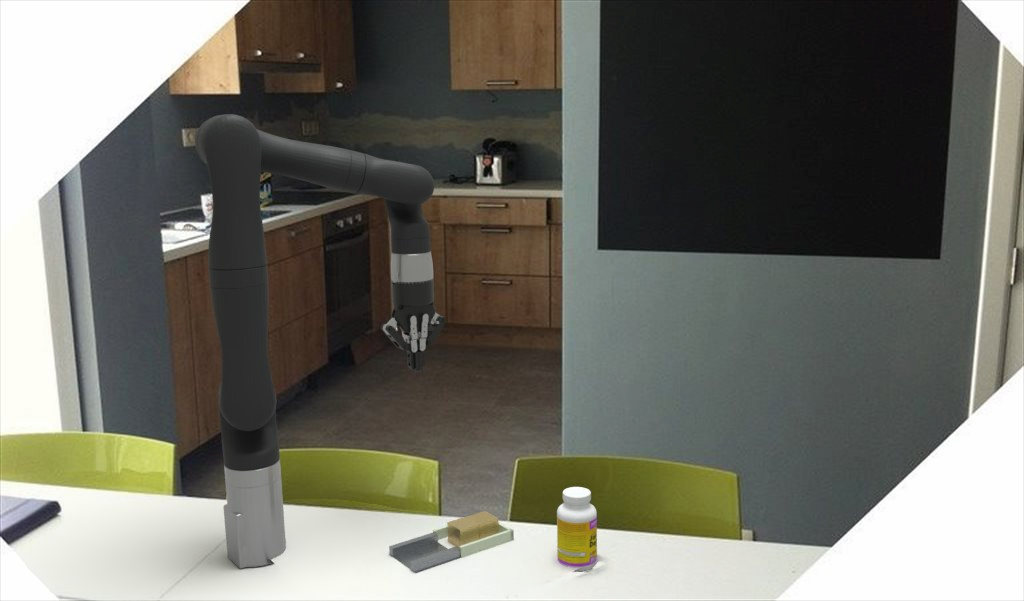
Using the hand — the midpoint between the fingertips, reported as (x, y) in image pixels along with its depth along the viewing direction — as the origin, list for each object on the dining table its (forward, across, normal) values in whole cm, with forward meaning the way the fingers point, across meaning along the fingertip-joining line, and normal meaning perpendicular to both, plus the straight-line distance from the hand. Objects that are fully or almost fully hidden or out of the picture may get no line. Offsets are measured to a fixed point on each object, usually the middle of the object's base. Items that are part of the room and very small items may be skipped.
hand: (416, 370), depth 173 cm
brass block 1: (+28, 0, +15) cm, 32 cm away
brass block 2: (+28, -4, +15) cm, 32 cm away
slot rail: (+29, +8, +15) cm, 34 cm away
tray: (+29, -2, +15) cm, 33 cm away
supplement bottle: (+29, -11, +32) cm, 45 cm away
